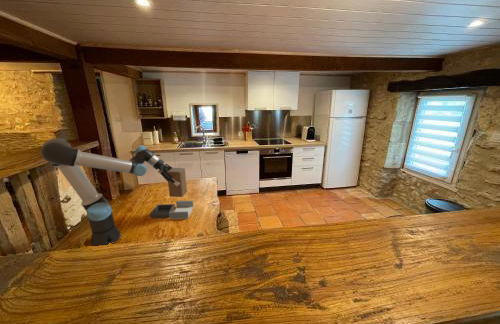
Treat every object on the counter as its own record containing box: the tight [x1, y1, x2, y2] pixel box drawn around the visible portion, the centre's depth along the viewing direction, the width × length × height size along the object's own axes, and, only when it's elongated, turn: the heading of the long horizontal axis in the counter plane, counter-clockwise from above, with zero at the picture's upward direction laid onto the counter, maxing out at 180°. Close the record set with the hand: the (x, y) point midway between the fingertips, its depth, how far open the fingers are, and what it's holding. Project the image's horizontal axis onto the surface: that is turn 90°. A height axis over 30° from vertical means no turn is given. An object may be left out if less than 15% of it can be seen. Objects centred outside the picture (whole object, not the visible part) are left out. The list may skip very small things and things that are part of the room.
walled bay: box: [170, 200, 194, 220], centre depth 156 cm, size 13×18×6 cm
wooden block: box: [167, 167, 188, 198], centre depth 150 cm, size 10×10×20 cm
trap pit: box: [150, 203, 176, 219], centre depth 155 cm, size 14×14×4 cm
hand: (180, 181), depth 150 cm, fingers closed on wooden block, 11 cm apart
